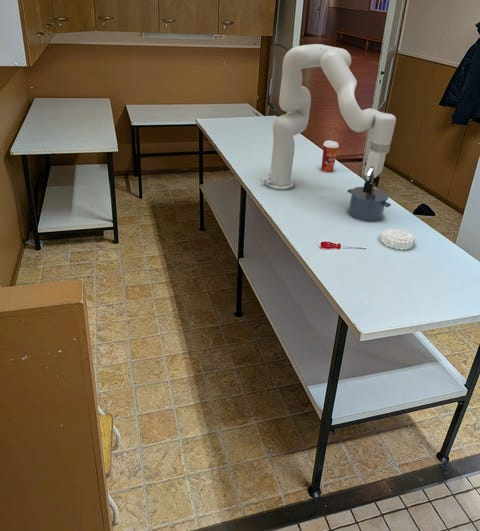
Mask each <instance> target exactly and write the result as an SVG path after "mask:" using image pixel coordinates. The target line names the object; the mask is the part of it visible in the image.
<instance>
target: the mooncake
mask: <svg viewBox="0 0 480 531" xmlns="http://www.w3.org/2000/svg"><path fill="white" fill-rule="evenodd" d="M379 238H380V239H379V240H380V242H381V243H382V245H385V246H386V247H387V248H391V249H395V250H400V251H403V250H406V251H407V250H410V249H412V248H413V247H414V243H415V240H416V237H415V234H413V233H411V232H410V231H408V230H406V229H404V228H399V227H388V228H384V229H383V230H382V231H381V235H380V237H379Z"/></svg>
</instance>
